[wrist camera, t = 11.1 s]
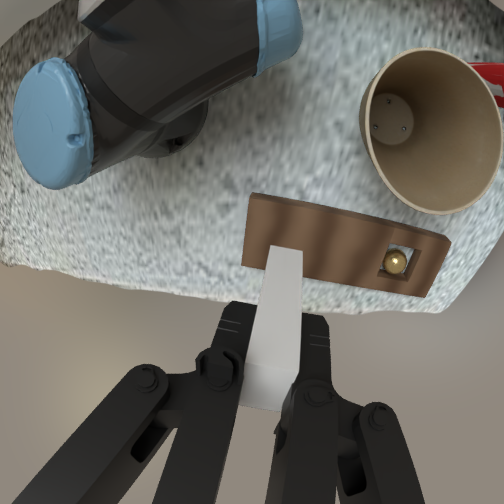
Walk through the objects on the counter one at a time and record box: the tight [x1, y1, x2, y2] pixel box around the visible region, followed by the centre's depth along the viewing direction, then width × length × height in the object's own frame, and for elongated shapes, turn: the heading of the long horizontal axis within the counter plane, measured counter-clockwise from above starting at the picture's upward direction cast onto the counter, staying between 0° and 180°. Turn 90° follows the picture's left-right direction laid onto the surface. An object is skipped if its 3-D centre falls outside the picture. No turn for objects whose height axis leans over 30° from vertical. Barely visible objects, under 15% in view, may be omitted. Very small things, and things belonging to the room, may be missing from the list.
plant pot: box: [359, 47, 503, 215], centre depth 23 cm, size 15×15×16 cm
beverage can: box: [468, 63, 504, 108], centre depth 18 cm, size 6×6×15 cm
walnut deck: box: [241, 192, 451, 298], centre depth 39 cm, size 32×11×2 cm, turn 83°
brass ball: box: [383, 248, 407, 274], centre depth 38 cm, size 4×4×4 cm
